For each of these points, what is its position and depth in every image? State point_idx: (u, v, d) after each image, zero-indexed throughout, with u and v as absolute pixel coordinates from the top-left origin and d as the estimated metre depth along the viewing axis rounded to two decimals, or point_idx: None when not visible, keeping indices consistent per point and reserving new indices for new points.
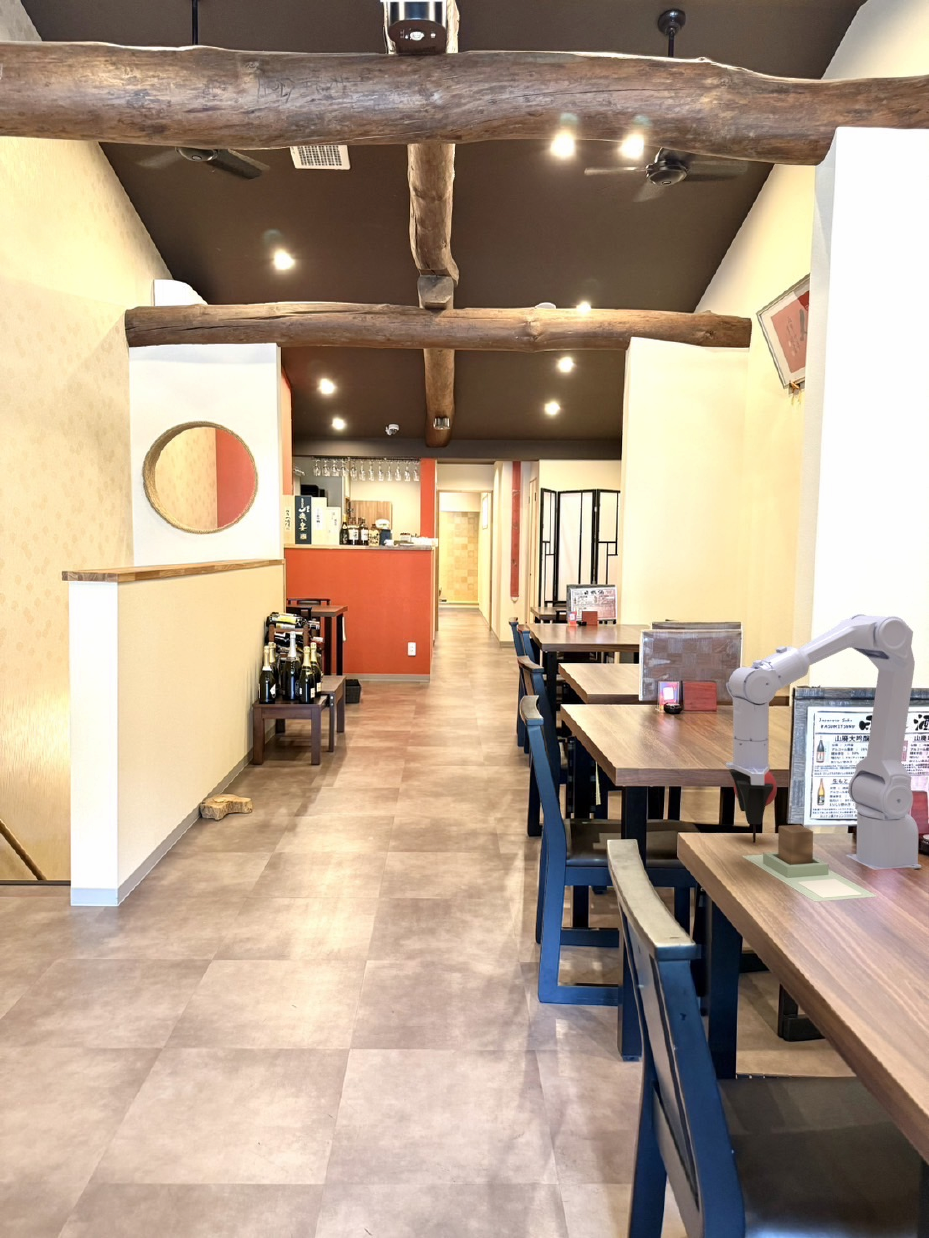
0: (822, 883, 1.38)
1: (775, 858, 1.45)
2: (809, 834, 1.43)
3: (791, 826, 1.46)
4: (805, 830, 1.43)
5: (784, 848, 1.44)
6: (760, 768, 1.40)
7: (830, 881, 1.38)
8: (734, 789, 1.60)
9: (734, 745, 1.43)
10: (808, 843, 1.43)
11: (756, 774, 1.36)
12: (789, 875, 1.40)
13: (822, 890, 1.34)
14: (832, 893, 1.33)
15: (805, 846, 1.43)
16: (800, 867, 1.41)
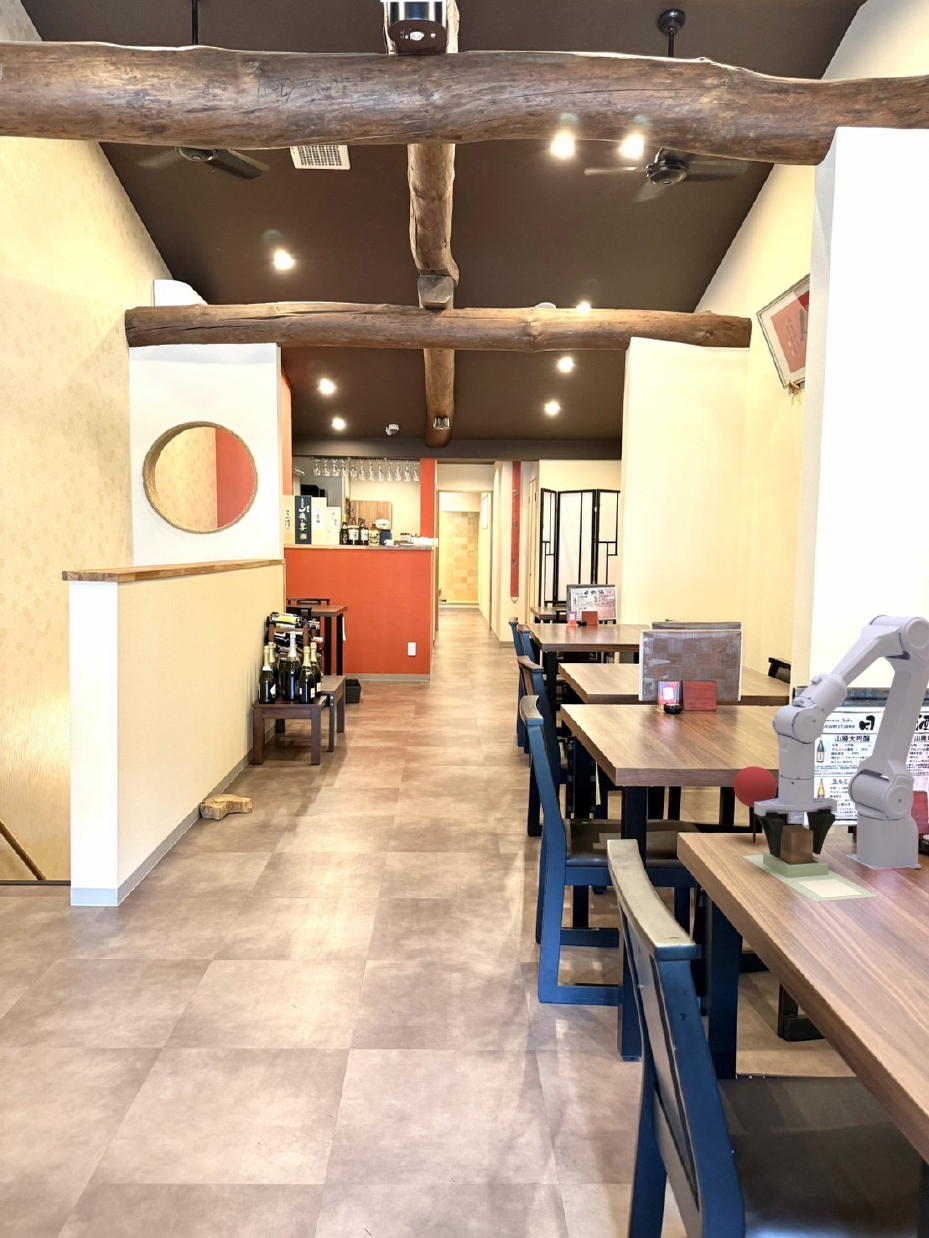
0: (822, 883, 1.38)
1: (775, 858, 1.45)
2: (809, 834, 1.43)
3: (791, 826, 1.46)
4: (805, 830, 1.43)
5: (784, 848, 1.44)
6: (785, 804, 1.43)
7: (830, 881, 1.38)
8: (734, 789, 1.60)
9: None
10: (808, 843, 1.43)
11: (756, 804, 1.43)
12: (789, 875, 1.40)
13: (822, 890, 1.34)
14: (832, 893, 1.33)
15: (805, 846, 1.43)
16: (800, 867, 1.41)
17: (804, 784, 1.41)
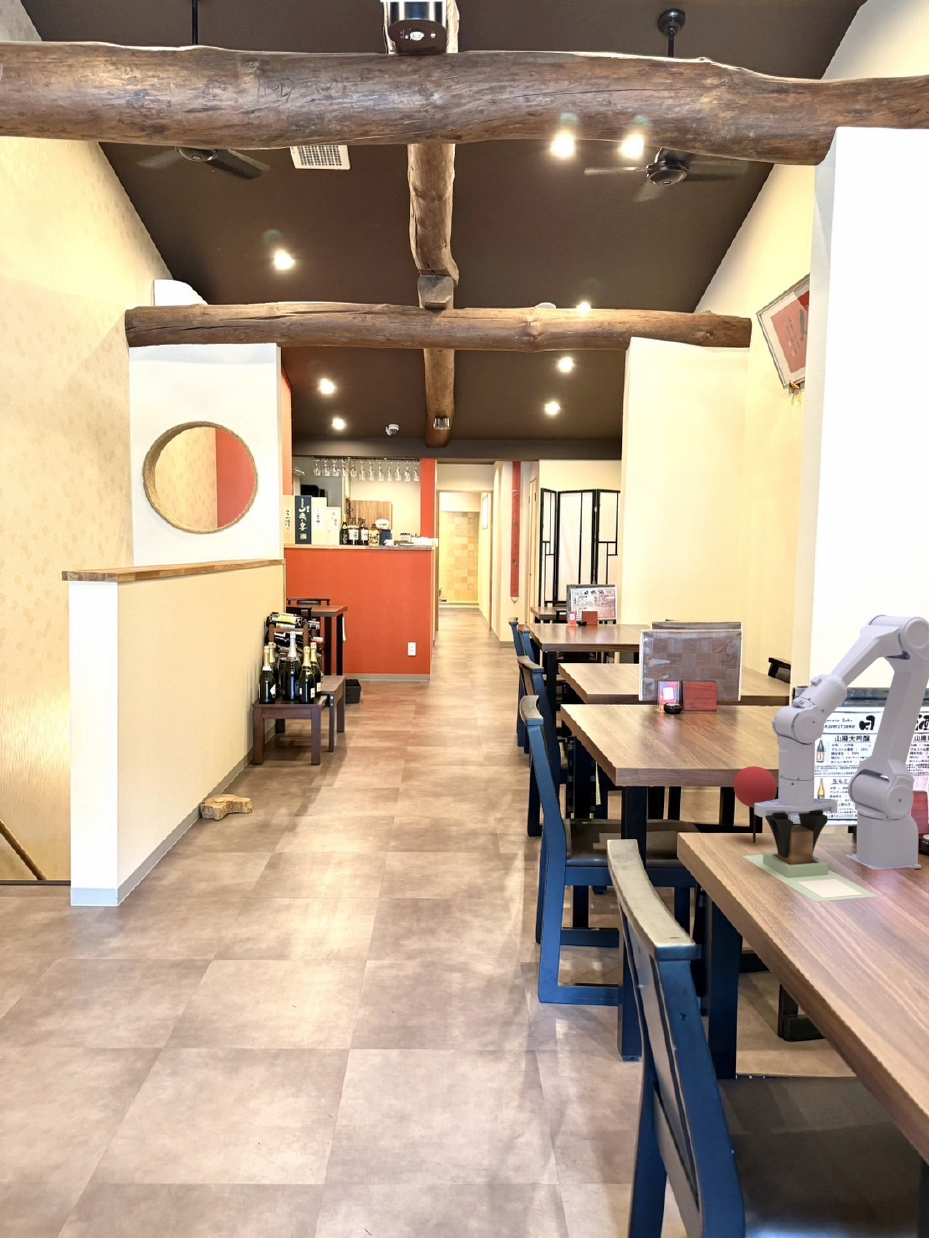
0: (822, 883, 1.38)
1: (775, 858, 1.45)
2: (809, 834, 1.43)
3: None
4: (805, 830, 1.43)
5: None
6: (785, 805, 1.43)
7: (830, 881, 1.38)
8: (734, 789, 1.60)
9: None
10: (808, 843, 1.43)
11: (756, 805, 1.43)
12: (789, 875, 1.40)
13: (822, 890, 1.34)
14: (832, 893, 1.33)
15: (805, 846, 1.43)
16: (800, 867, 1.41)
17: (804, 785, 1.41)
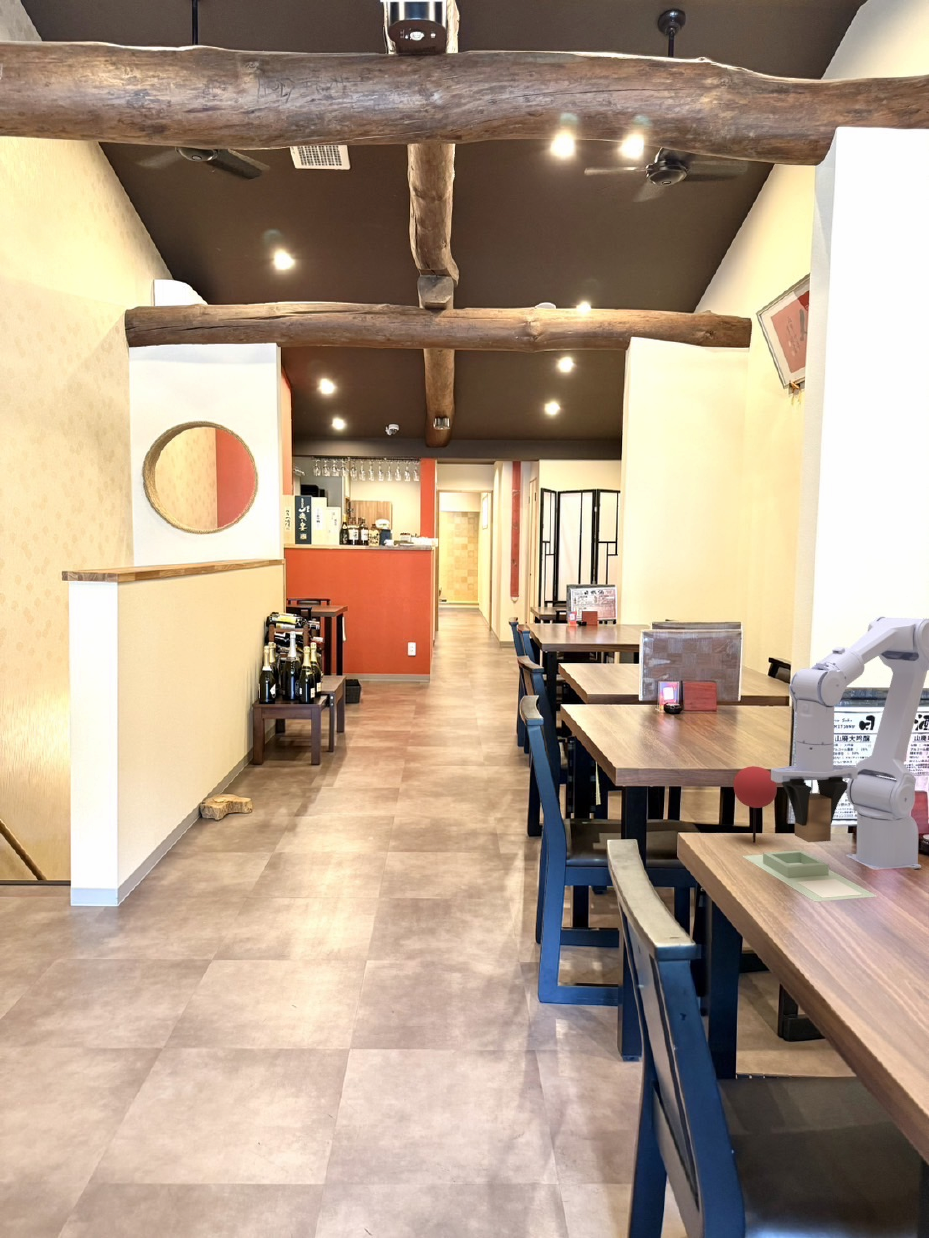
0: (822, 883, 1.38)
1: (775, 858, 1.45)
2: (827, 801, 1.38)
3: None
4: (823, 798, 1.38)
5: None
6: (803, 771, 1.37)
7: (830, 881, 1.38)
8: (734, 789, 1.60)
9: None
10: (826, 811, 1.38)
11: (773, 770, 1.38)
12: (789, 875, 1.40)
13: (822, 890, 1.34)
14: (832, 893, 1.33)
15: (822, 814, 1.38)
16: (800, 867, 1.41)
17: (823, 749, 1.36)
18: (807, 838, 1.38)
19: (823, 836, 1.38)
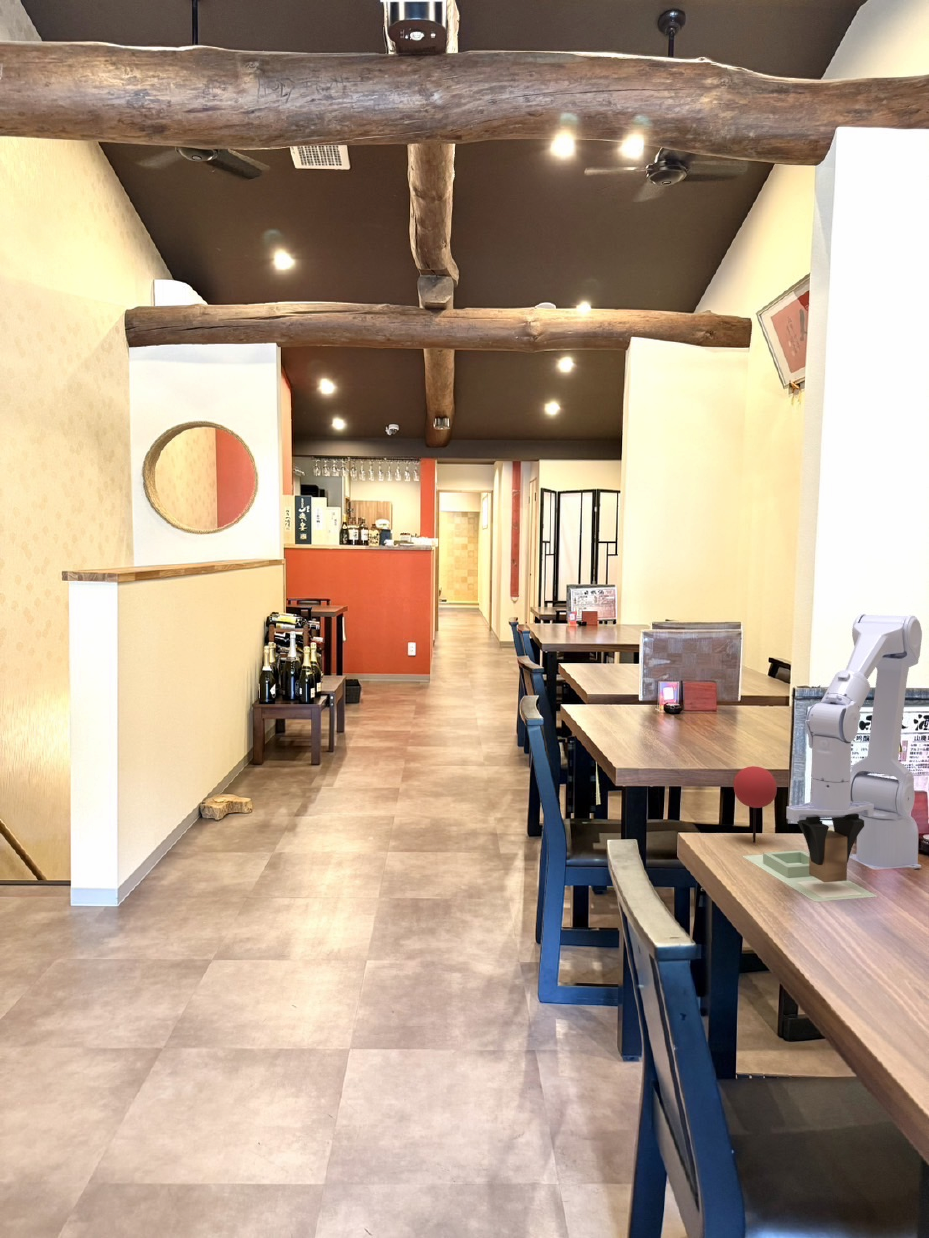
0: (822, 883, 1.38)
1: (775, 858, 1.45)
2: (843, 840, 1.34)
3: None
4: (839, 836, 1.34)
5: None
6: (819, 809, 1.33)
7: None
8: (734, 789, 1.60)
9: None
10: (842, 850, 1.34)
11: (789, 808, 1.34)
12: (789, 875, 1.40)
13: (822, 890, 1.34)
14: (832, 893, 1.33)
15: (839, 853, 1.34)
16: (800, 867, 1.41)
17: (840, 787, 1.32)
18: (823, 878, 1.34)
19: (839, 876, 1.34)
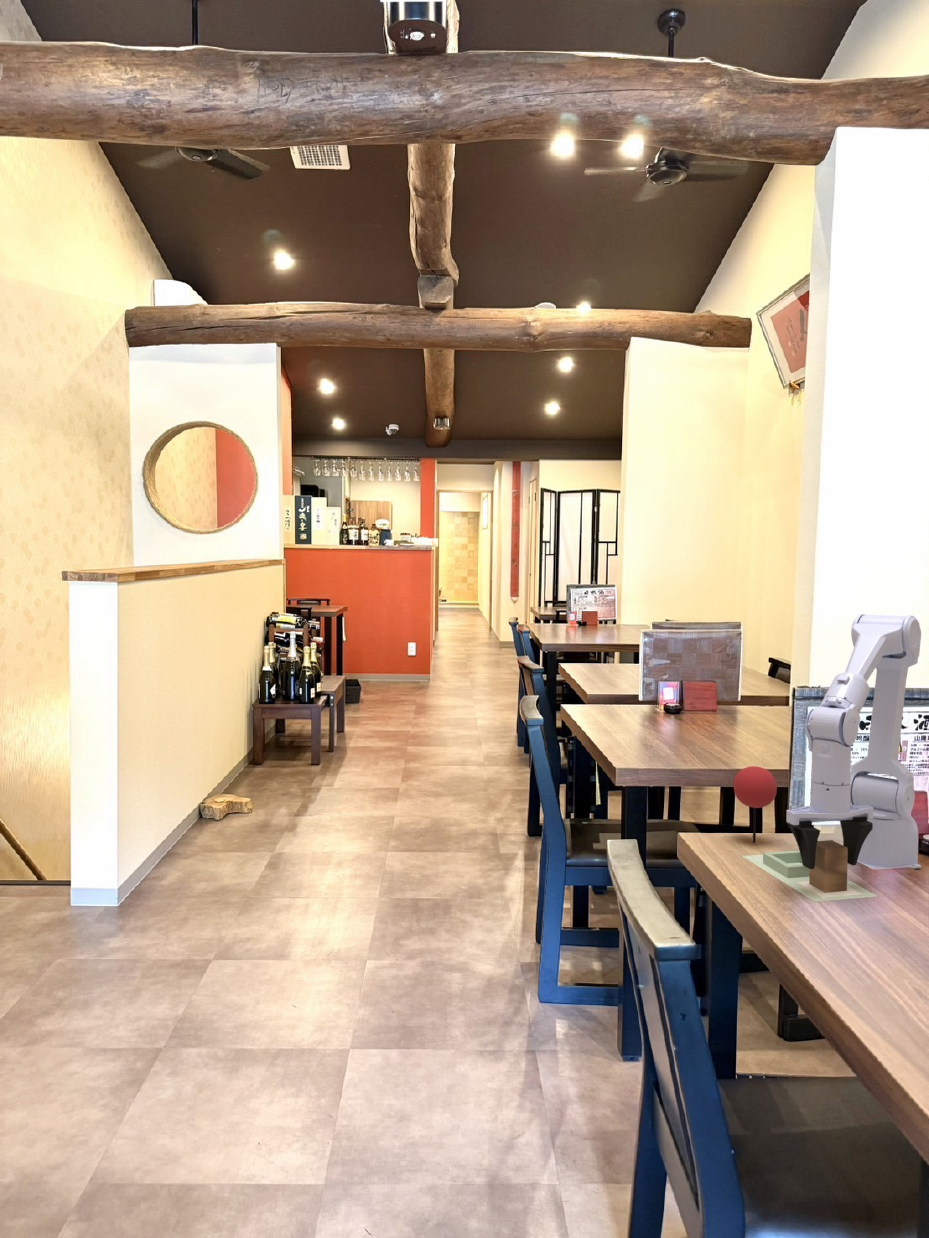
0: None
1: (775, 858, 1.45)
2: (843, 850, 1.34)
3: (824, 842, 1.37)
4: (839, 847, 1.34)
5: (816, 866, 1.35)
6: (819, 812, 1.33)
7: None
8: (734, 789, 1.60)
9: None
10: (842, 860, 1.34)
11: (789, 812, 1.34)
12: (789, 875, 1.40)
13: None
14: (832, 893, 1.33)
15: (839, 863, 1.34)
16: (800, 867, 1.41)
17: (840, 790, 1.32)
18: (823, 888, 1.34)
19: (839, 886, 1.34)
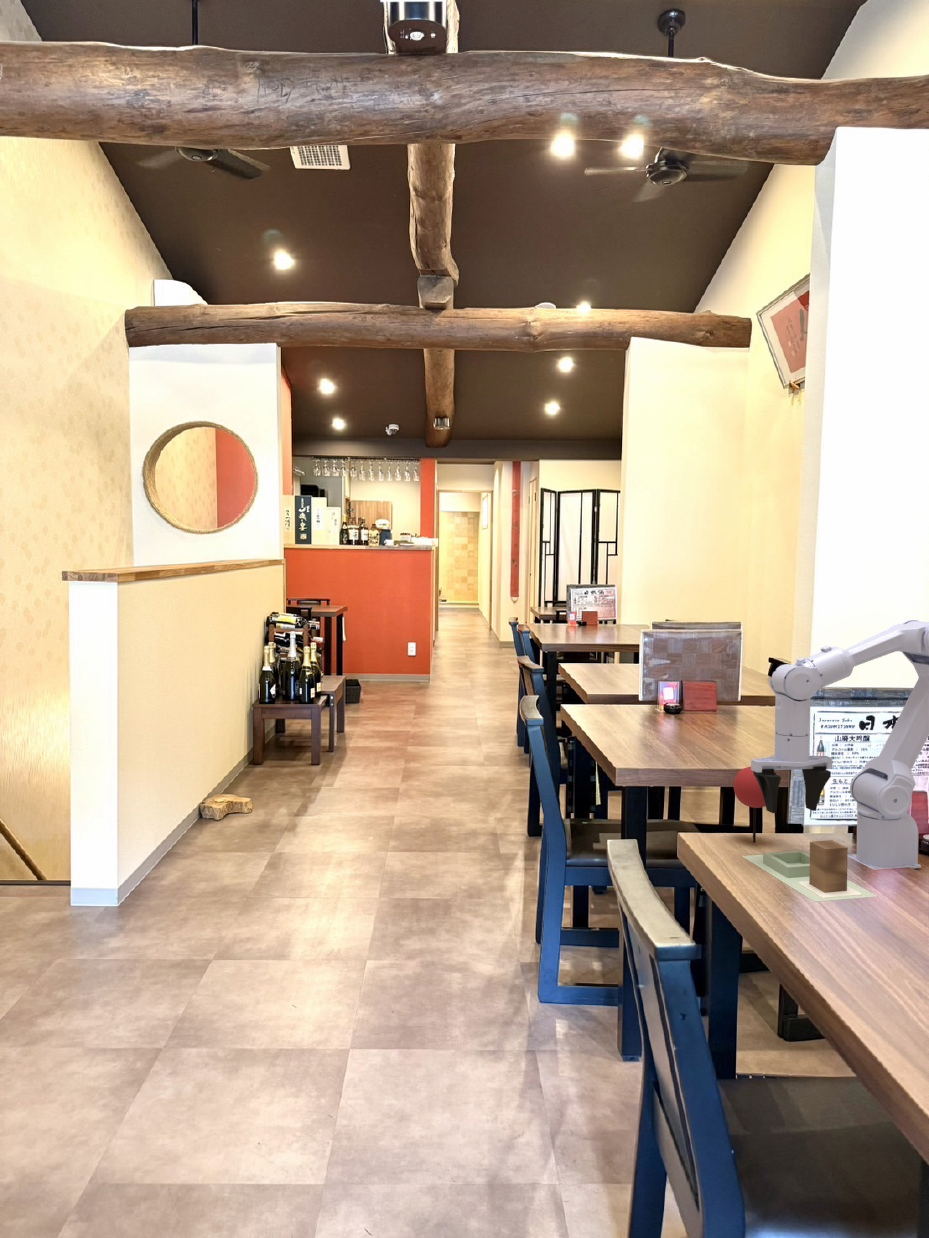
0: None
1: (775, 858, 1.45)
2: (843, 850, 1.34)
3: (824, 842, 1.37)
4: (839, 847, 1.34)
5: (816, 866, 1.35)
6: (781, 761, 1.45)
7: None
8: (734, 789, 1.60)
9: None
10: (842, 860, 1.34)
11: (753, 760, 1.46)
12: (789, 875, 1.40)
13: None
14: (832, 893, 1.33)
15: (839, 863, 1.34)
16: (800, 867, 1.41)
17: (800, 741, 1.44)
18: (823, 888, 1.34)
19: (839, 886, 1.34)
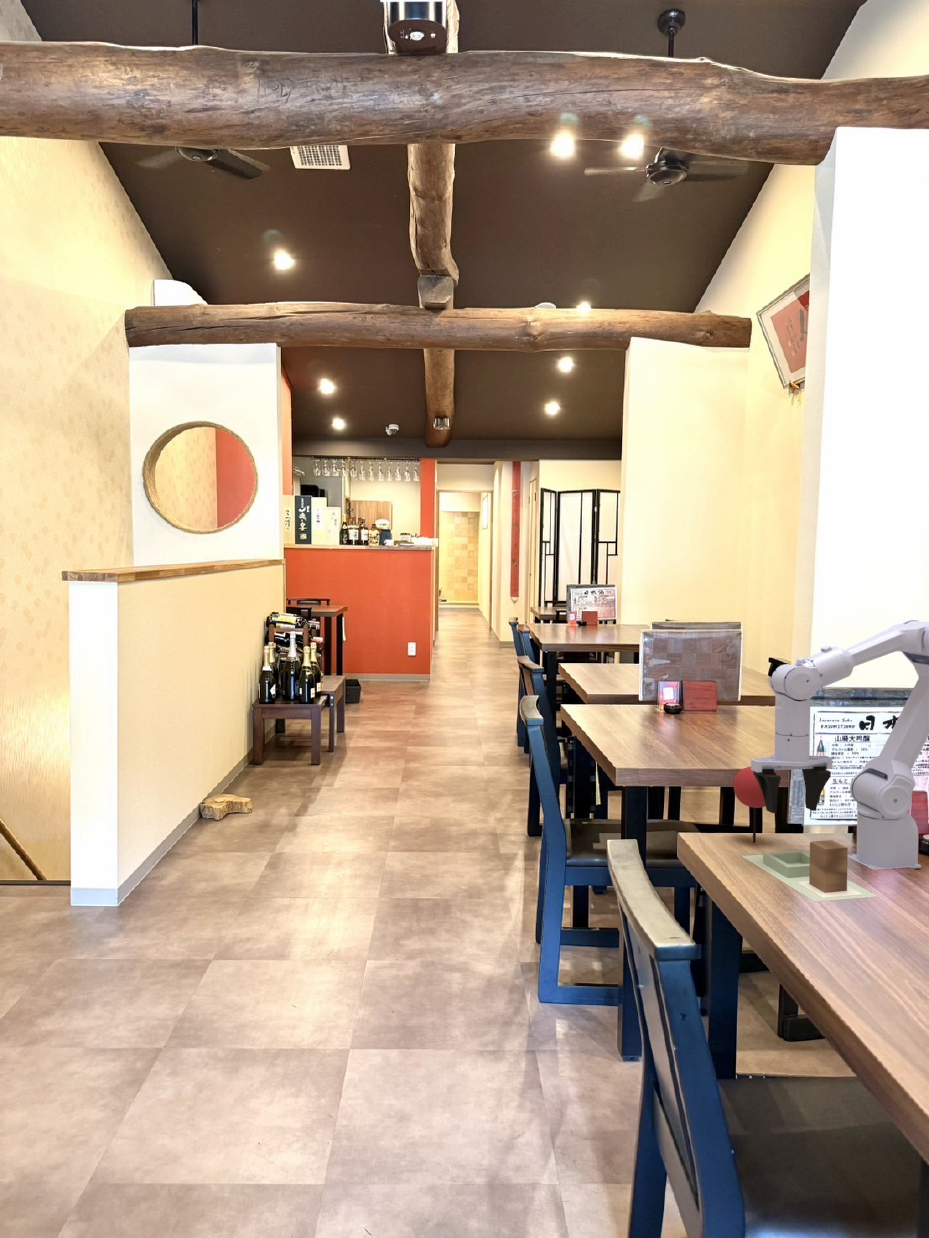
0: None
1: (775, 858, 1.45)
2: (843, 850, 1.34)
3: (824, 842, 1.37)
4: (839, 847, 1.34)
5: (816, 866, 1.35)
6: (781, 761, 1.45)
7: None
8: (734, 789, 1.60)
9: None
10: (842, 860, 1.34)
11: (753, 760, 1.46)
12: (789, 875, 1.40)
13: None
14: (832, 893, 1.33)
15: (839, 863, 1.34)
16: (800, 867, 1.41)
17: (800, 741, 1.44)
18: (823, 888, 1.34)
19: (839, 886, 1.34)
